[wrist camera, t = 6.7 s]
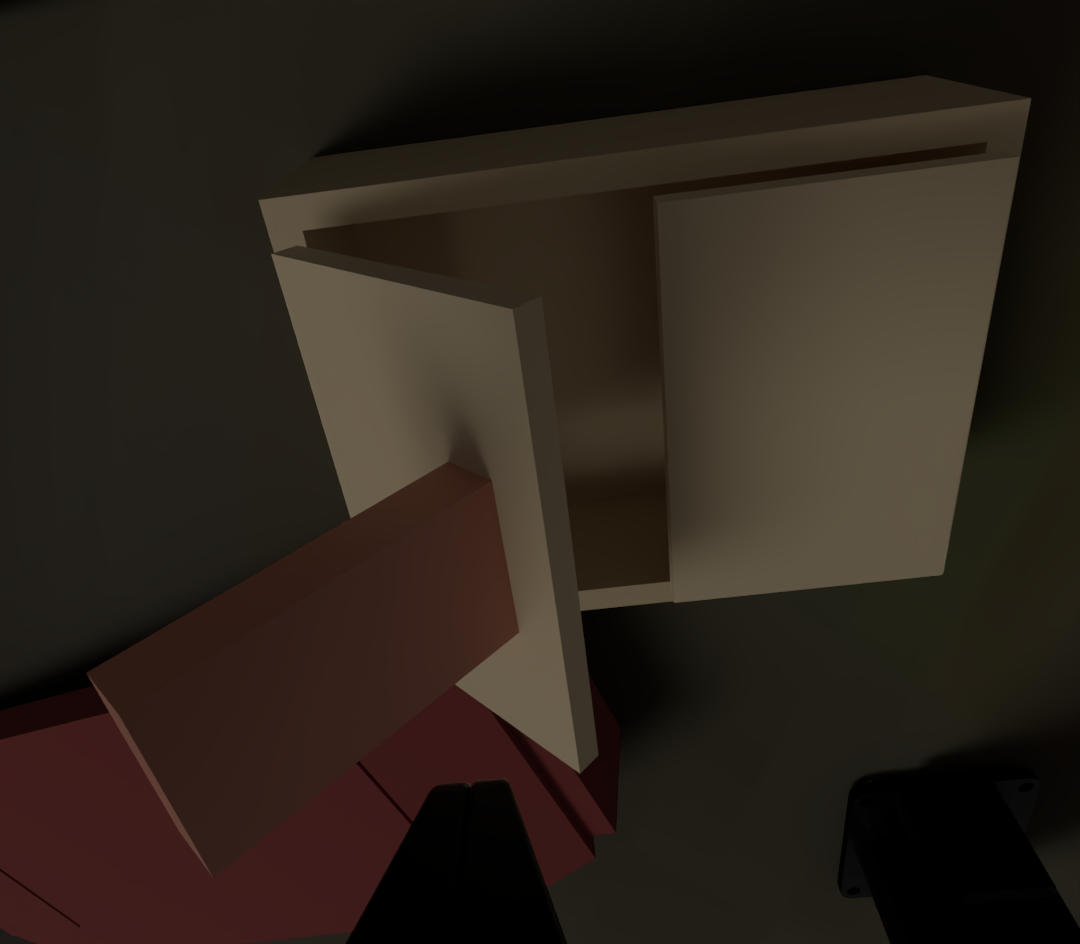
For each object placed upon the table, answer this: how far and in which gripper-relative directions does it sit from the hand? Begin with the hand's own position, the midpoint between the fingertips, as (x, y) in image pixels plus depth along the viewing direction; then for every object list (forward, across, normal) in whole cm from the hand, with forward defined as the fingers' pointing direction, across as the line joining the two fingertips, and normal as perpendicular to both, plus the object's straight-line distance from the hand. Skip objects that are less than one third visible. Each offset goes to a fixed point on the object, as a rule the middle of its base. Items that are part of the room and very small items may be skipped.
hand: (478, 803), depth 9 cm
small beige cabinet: (+13, -3, 0) cm, 13 cm away
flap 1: (+6, +1, 0) cm, 6 cm away
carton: (+13, +11, +14) cm, 22 cm away
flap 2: (+8, -6, 0) cm, 10 cm away
